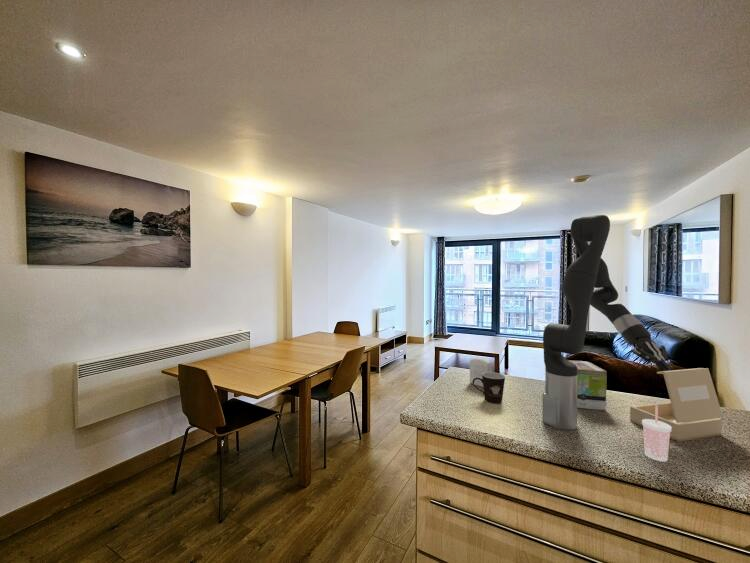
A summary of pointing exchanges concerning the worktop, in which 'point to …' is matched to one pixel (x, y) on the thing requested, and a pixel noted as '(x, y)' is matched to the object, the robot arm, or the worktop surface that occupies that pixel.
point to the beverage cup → (656, 438)
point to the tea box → (590, 386)
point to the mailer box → (679, 430)
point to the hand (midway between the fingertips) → (668, 372)
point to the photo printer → (479, 369)
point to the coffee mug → (492, 386)
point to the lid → (692, 394)
